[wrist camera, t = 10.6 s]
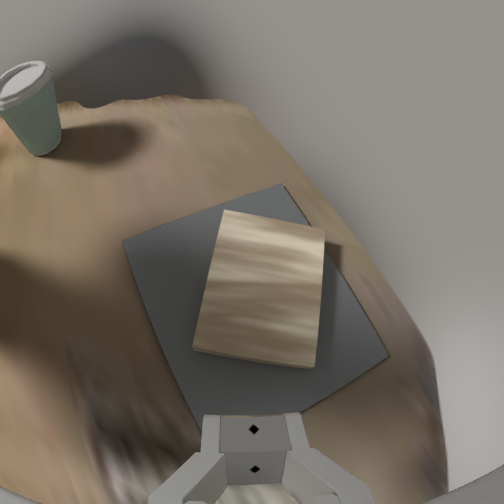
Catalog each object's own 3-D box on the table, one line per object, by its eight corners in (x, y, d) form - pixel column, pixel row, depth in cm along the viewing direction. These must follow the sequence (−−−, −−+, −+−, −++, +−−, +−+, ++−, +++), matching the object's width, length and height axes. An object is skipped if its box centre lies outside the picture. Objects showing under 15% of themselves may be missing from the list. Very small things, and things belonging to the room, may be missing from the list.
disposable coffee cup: (81, 121, 46) (61, 50, 33) (59, 166, 41) (27, 90, 28) (34, 126, 45) (9, 63, 32) (10, 170, 40) (-26, 104, 27)
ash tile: (314, 366, 29) (324, 229, 37) (192, 346, 29) (224, 209, 37) (308, 369, 32) (319, 238, 39) (193, 350, 31) (223, 220, 39)
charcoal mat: (213, 453, 27) (213, 454, 26) (123, 242, 36) (122, 241, 36) (387, 356, 33) (389, 355, 33) (280, 185, 43) (281, 183, 43)
